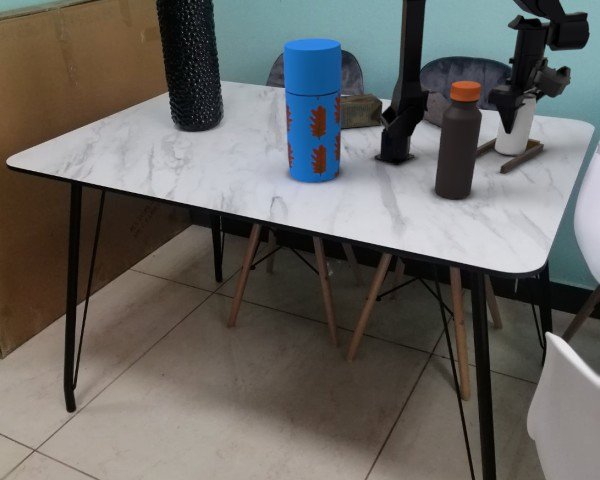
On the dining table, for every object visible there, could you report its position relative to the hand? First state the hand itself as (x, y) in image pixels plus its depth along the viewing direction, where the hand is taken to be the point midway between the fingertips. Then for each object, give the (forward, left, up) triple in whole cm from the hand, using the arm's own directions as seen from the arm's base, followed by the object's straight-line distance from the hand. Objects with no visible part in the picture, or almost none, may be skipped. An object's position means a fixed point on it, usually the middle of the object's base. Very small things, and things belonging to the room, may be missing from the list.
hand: (515, 129), depth 123 cm
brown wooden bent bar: (-4, 0, -5) cm, 6 cm away
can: (-1, 0, -5) cm, 5 cm away
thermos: (-37, +25, -5) cm, 45 cm away
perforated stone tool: (+6, +24, -5) cm, 25 cm away
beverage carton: (-10, +41, -5) cm, 43 cm away
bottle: (-27, -2, -5) cm, 27 cm away
